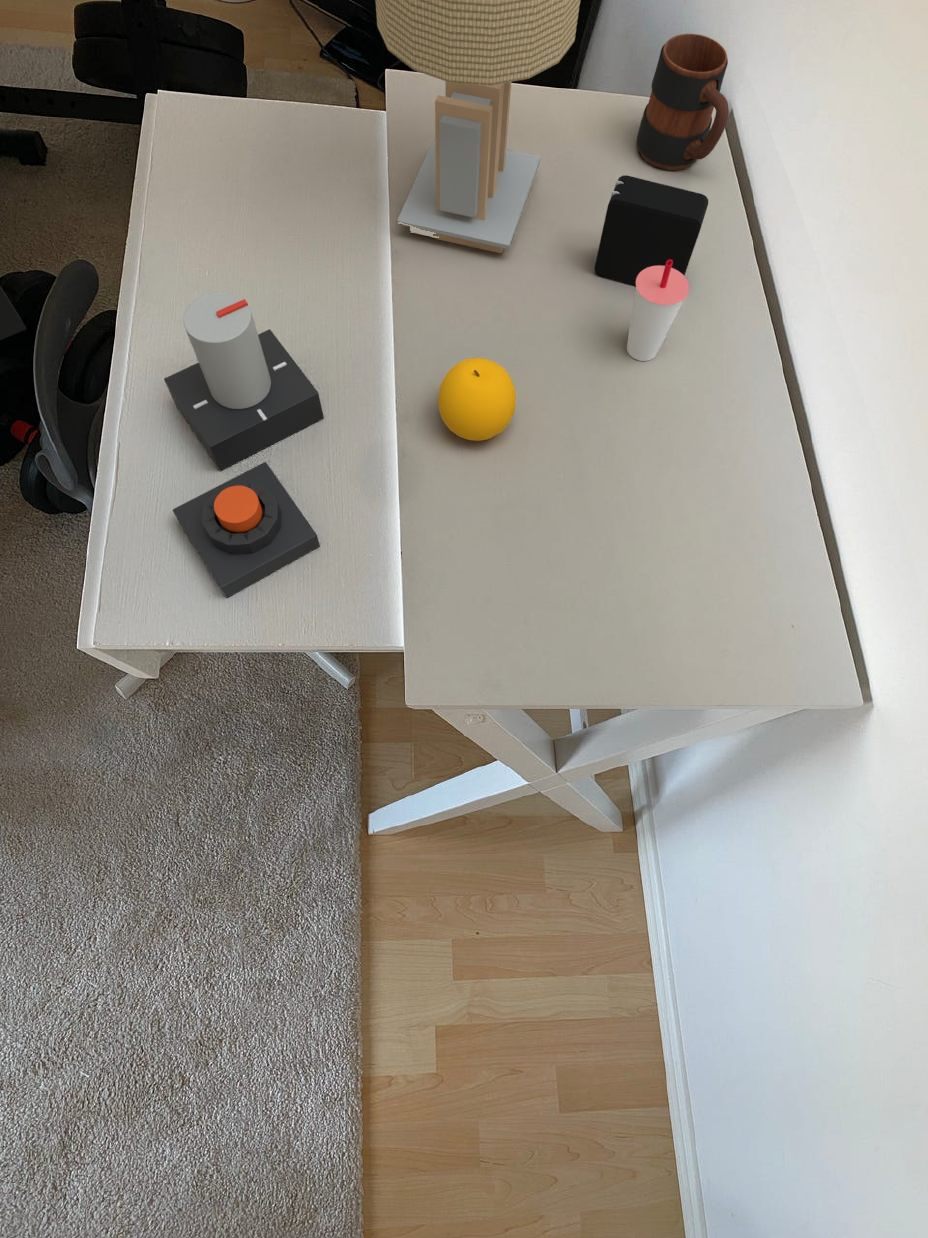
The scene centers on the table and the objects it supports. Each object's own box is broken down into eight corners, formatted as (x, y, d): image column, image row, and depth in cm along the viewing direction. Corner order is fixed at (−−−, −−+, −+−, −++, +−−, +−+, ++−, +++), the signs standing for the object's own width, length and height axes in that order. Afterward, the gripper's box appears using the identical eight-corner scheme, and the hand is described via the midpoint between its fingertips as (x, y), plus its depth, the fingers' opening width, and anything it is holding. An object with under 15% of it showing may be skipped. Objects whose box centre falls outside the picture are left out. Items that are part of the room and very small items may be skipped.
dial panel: (220, 472, 79) (209, 446, 75) (175, 404, 82) (162, 376, 78) (324, 419, 82) (318, 392, 78) (276, 355, 85) (269, 326, 81)
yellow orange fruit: (504, 460, 80) (509, 412, 74) (429, 443, 81) (428, 394, 74) (520, 399, 84) (527, 348, 77) (448, 384, 84) (449, 332, 77)
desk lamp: (416, 138, 100) (404, -255, 68) (566, 169, 99) (626, -219, 66) (368, 243, 93) (328, -145, 60) (529, 279, 91) (577, -101, 59)
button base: (227, 598, 73) (215, 578, 70) (178, 521, 76) (165, 498, 73) (320, 546, 76) (314, 524, 72) (270, 474, 79) (261, 449, 75)
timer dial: (227, 418, 77) (200, 349, 68) (199, 378, 79) (170, 306, 70) (281, 392, 78) (262, 321, 70) (253, 353, 80) (231, 279, 72)
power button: (231, 540, 72) (226, 530, 70) (211, 508, 73) (205, 498, 71) (270, 519, 73) (266, 509, 71) (249, 488, 74) (245, 478, 72)
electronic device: (676, 297, 90) (703, 221, 81) (592, 275, 91) (609, 197, 82) (684, 272, 92) (711, 195, 83) (601, 250, 93) (619, 172, 84)
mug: (674, 197, 97) (703, 102, 86) (622, 139, 101) (643, 41, 91) (731, 176, 99) (766, 80, 88) (677, 120, 103) (704, 22, 92)
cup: (634, 374, 85) (662, 286, 74) (608, 340, 87) (632, 249, 76) (675, 357, 87) (709, 268, 76) (649, 324, 88) (678, 232, 77)
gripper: (-432, -166, 32) (-86, 290, 54) (-362, -6, 28) (-18, 420, 50) (-238, -207, 34) (21, 249, 56) (-146, -64, 30) (96, 370, 51)
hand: (2, 329), depth 53 cm, fingers closed
